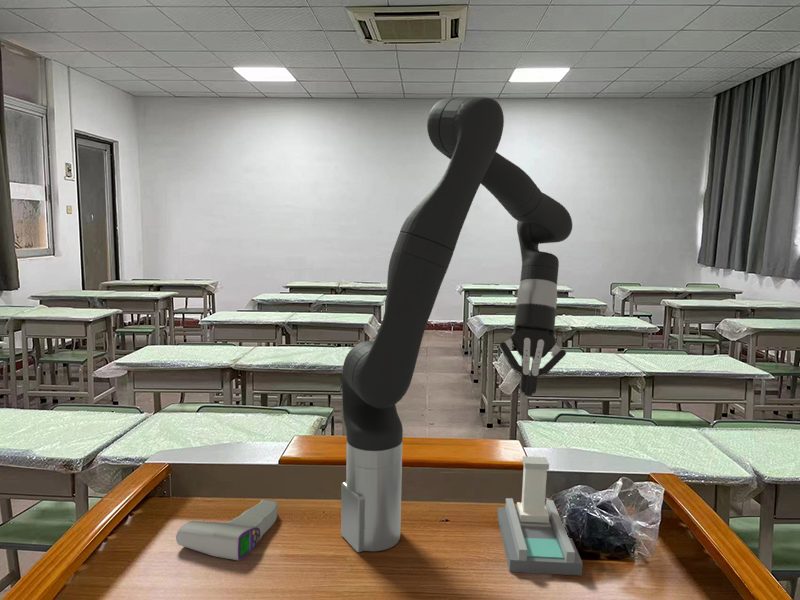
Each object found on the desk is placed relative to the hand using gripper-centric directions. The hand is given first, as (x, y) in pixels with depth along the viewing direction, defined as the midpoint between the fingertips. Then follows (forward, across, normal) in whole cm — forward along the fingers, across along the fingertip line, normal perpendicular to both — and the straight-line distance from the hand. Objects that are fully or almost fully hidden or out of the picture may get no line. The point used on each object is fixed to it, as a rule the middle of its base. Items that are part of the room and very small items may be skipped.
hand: (527, 395), depth 108 cm
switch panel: (+25, +3, -7) cm, 26 cm away
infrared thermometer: (+31, -48, -10) cm, 58 cm away
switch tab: (+21, +2, -4) cm, 21 cm away
